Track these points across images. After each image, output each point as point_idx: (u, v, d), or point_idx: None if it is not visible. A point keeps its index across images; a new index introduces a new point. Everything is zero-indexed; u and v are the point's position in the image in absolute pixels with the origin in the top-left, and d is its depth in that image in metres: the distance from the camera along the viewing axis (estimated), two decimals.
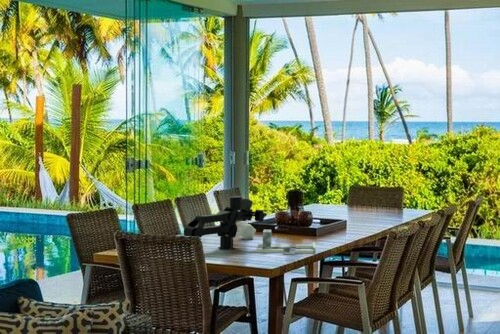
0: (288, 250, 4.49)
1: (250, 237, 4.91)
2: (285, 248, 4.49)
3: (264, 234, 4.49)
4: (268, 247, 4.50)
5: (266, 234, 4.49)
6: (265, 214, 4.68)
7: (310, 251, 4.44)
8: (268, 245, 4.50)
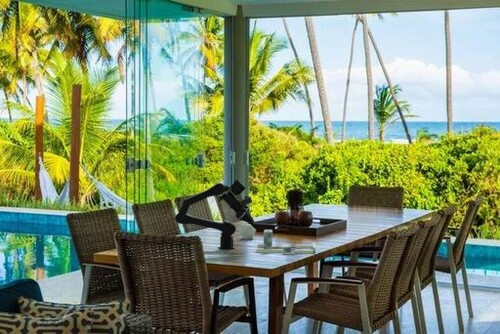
0: (289, 250, 4.49)
1: (250, 237, 4.91)
2: (286, 248, 4.49)
3: (265, 234, 4.49)
4: (269, 247, 4.50)
5: (267, 234, 4.49)
6: (250, 222, 4.50)
7: (310, 251, 4.44)
8: (269, 245, 4.50)
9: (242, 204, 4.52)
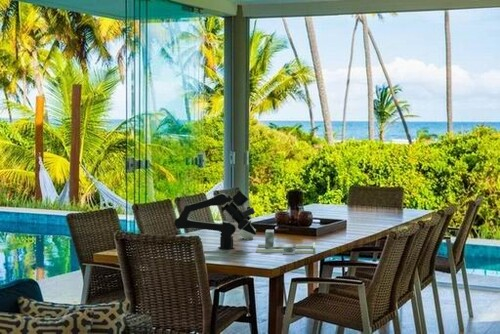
0: (291, 250, 4.49)
1: (250, 237, 4.91)
2: (288, 248, 4.49)
3: (267, 234, 4.49)
4: (271, 247, 4.50)
5: (268, 234, 4.49)
6: (253, 232, 4.54)
7: (310, 251, 4.44)
8: (271, 245, 4.49)
9: (244, 215, 4.52)
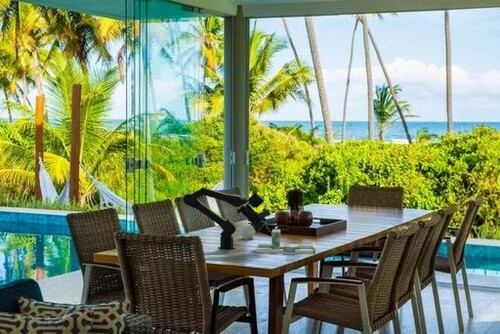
0: None
1: (250, 237, 4.91)
2: (294, 248, 4.49)
3: (273, 234, 4.49)
4: (277, 247, 4.49)
5: (275, 234, 4.49)
6: (269, 233, 4.53)
7: (310, 251, 4.44)
8: (277, 245, 4.49)
9: (260, 217, 4.51)
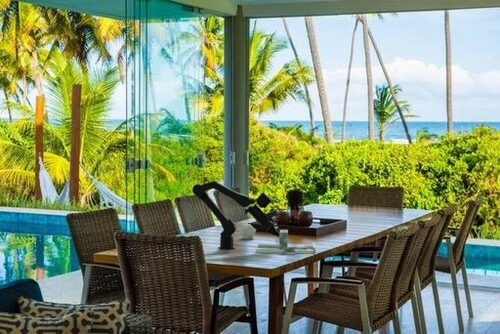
0: None
1: (250, 237, 4.91)
2: (302, 248, 4.48)
3: (281, 234, 4.49)
4: (285, 247, 4.49)
5: (282, 235, 4.49)
6: (277, 234, 4.53)
7: (310, 251, 4.44)
8: (285, 245, 4.49)
9: (268, 217, 4.51)
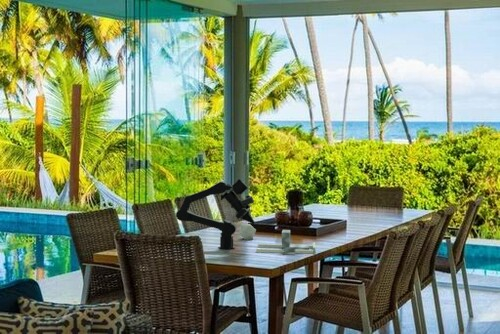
0: None
1: (250, 237, 4.91)
2: (304, 248, 4.48)
3: (283, 234, 4.49)
4: (287, 247, 4.49)
5: (285, 235, 4.49)
6: (251, 221, 4.54)
7: (310, 251, 4.44)
8: (287, 245, 4.49)
9: (243, 204, 4.51)
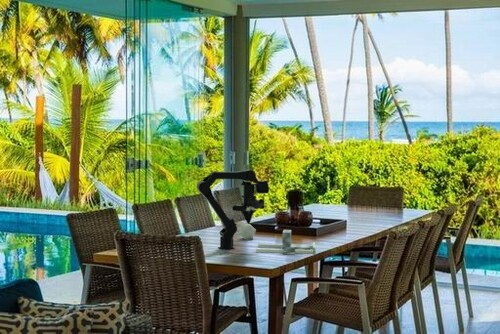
0: None
1: (250, 237, 4.91)
2: (305, 248, 4.48)
3: (284, 234, 4.49)
4: (288, 247, 4.49)
5: (285, 235, 4.49)
6: (247, 220, 4.58)
7: (310, 251, 4.44)
8: (288, 245, 4.49)
9: (249, 203, 4.54)
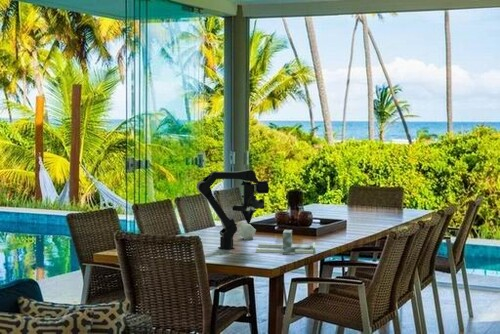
0: None
1: (250, 237, 4.91)
2: (305, 248, 4.49)
3: (284, 234, 4.49)
4: (288, 247, 4.50)
5: (286, 235, 4.49)
6: (247, 220, 4.58)
7: (310, 251, 4.44)
8: (288, 245, 4.49)
9: (249, 203, 4.54)
